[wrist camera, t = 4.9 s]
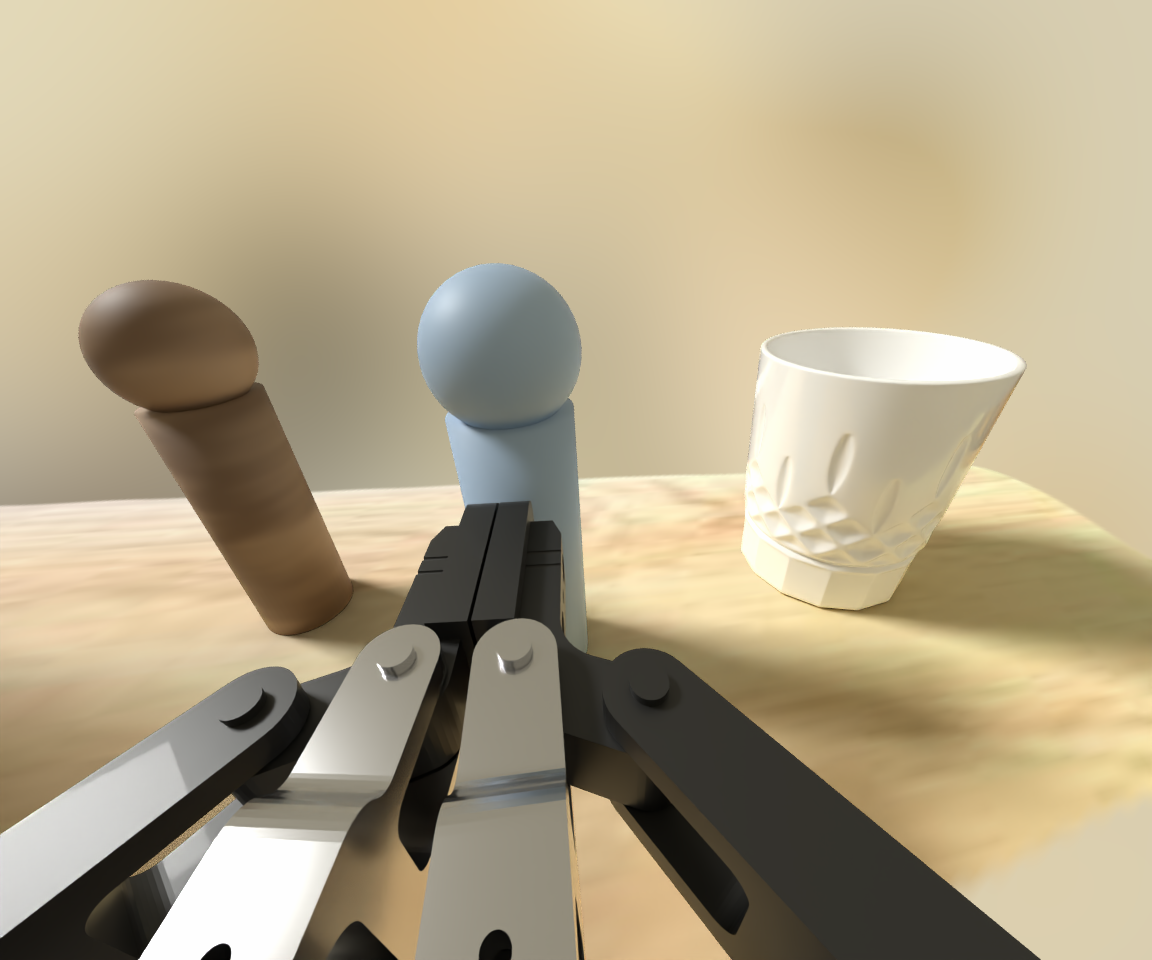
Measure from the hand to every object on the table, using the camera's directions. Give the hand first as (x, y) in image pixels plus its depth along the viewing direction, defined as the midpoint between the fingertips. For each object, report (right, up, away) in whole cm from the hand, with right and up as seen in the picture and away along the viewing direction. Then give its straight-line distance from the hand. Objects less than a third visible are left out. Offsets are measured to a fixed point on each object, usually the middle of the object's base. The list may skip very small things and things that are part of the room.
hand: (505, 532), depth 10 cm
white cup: (+13, -3, +10) cm, 17 cm away
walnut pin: (-11, -4, +9) cm, 15 cm away
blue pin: (0, -5, +7) cm, 9 cm away
